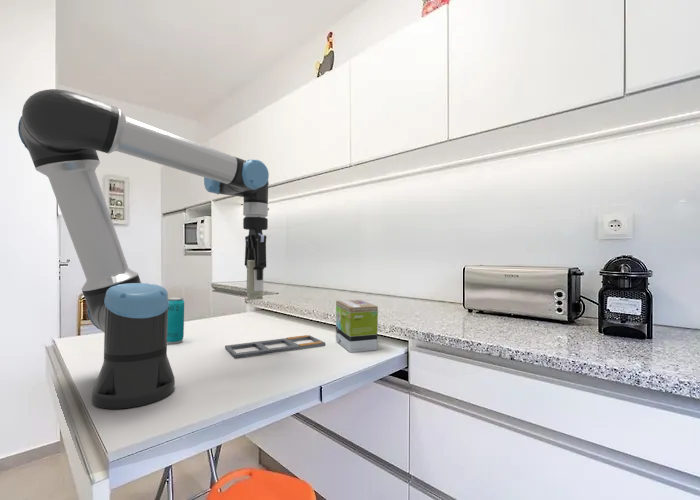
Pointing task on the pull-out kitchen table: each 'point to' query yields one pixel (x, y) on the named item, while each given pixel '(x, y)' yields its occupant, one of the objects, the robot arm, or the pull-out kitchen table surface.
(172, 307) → the beverage can
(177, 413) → the pull-out kitchen table surface
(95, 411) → the pull-out kitchen table surface
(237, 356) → the socket rail
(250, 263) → the skincare box
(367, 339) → the tea box
